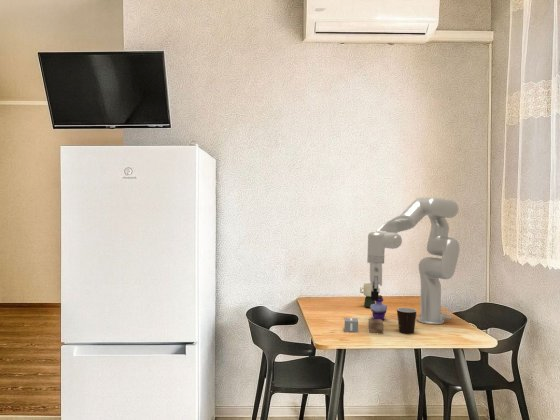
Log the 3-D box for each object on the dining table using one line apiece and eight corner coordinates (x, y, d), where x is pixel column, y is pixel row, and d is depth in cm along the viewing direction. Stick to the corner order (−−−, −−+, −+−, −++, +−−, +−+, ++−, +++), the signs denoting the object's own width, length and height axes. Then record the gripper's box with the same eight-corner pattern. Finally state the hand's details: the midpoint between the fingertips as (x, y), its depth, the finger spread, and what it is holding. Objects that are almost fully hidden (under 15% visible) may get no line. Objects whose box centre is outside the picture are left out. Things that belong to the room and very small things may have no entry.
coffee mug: (401, 328, 208) (401, 306, 208) (419, 331, 202) (419, 309, 202) (390, 333, 199) (390, 311, 199) (408, 337, 193) (409, 314, 193)
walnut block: (381, 330, 205) (381, 319, 205) (383, 334, 199) (383, 322, 199) (368, 329, 206) (368, 318, 206) (369, 333, 200) (369, 322, 200)
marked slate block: (357, 329, 207) (357, 317, 207) (358, 332, 200) (358, 321, 200) (344, 328, 207) (344, 317, 207) (344, 332, 201) (344, 320, 201)
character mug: (378, 306, 253) (378, 283, 253) (380, 309, 246) (380, 285, 246) (359, 305, 254) (359, 282, 253) (360, 308, 247) (361, 285, 246)
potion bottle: (390, 319, 224) (391, 295, 223) (381, 322, 218) (381, 298, 217) (376, 316, 230) (376, 293, 230) (366, 319, 224) (366, 295, 224)
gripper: (385, 261, 194) (384, 304, 194) (382, 258, 209) (381, 297, 209) (368, 261, 195) (366, 303, 195) (366, 257, 210) (365, 296, 210)
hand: (374, 300), depth 202 cm, fingers closed
